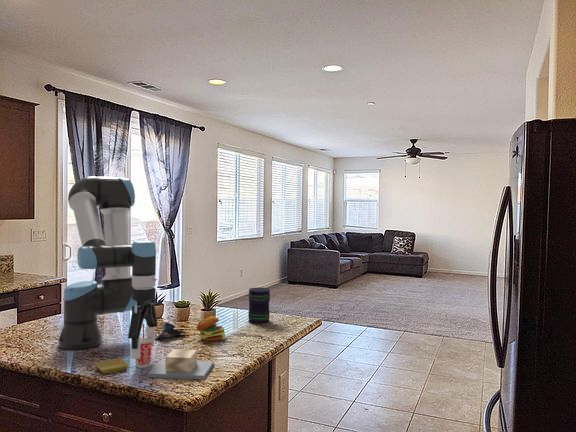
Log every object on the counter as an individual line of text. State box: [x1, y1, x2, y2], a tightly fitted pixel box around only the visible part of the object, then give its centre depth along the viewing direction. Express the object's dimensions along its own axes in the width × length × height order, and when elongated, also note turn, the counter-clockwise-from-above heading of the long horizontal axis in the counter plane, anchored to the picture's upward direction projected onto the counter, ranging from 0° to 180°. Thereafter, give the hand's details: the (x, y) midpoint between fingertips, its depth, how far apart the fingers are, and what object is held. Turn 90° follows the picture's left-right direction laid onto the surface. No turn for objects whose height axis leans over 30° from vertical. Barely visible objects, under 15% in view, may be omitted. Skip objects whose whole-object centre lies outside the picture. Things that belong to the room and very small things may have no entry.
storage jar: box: [247, 287, 271, 325], centre depth 215 cm, size 10×10×15 cm
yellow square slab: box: [94, 357, 129, 375], centre depth 152 cm, size 9×9×2 cm
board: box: [146, 359, 214, 380], centre depth 151 cm, size 18×13×1 cm
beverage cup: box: [135, 323, 153, 369], centre depth 156 cm, size 6×6×14 cm
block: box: [164, 348, 198, 372], centre depth 151 cm, size 8×8×4 cm
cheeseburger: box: [196, 315, 226, 342], centre depth 188 cm, size 10×11×10 cm
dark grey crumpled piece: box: [155, 321, 187, 340], centre depth 190 cm, size 12×7×12 cm
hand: (143, 351), depth 156 cm, fingers open, 12 cm apart
